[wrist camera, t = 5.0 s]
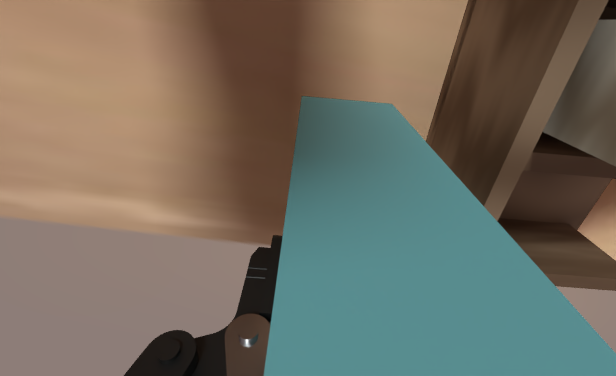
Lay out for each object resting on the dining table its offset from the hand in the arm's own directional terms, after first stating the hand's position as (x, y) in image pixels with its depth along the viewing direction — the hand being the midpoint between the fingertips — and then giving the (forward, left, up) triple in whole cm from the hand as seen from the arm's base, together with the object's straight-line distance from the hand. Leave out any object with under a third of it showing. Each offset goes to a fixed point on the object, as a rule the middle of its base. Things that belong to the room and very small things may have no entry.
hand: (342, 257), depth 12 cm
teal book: (0, 0, -6) cm, 6 cm away
